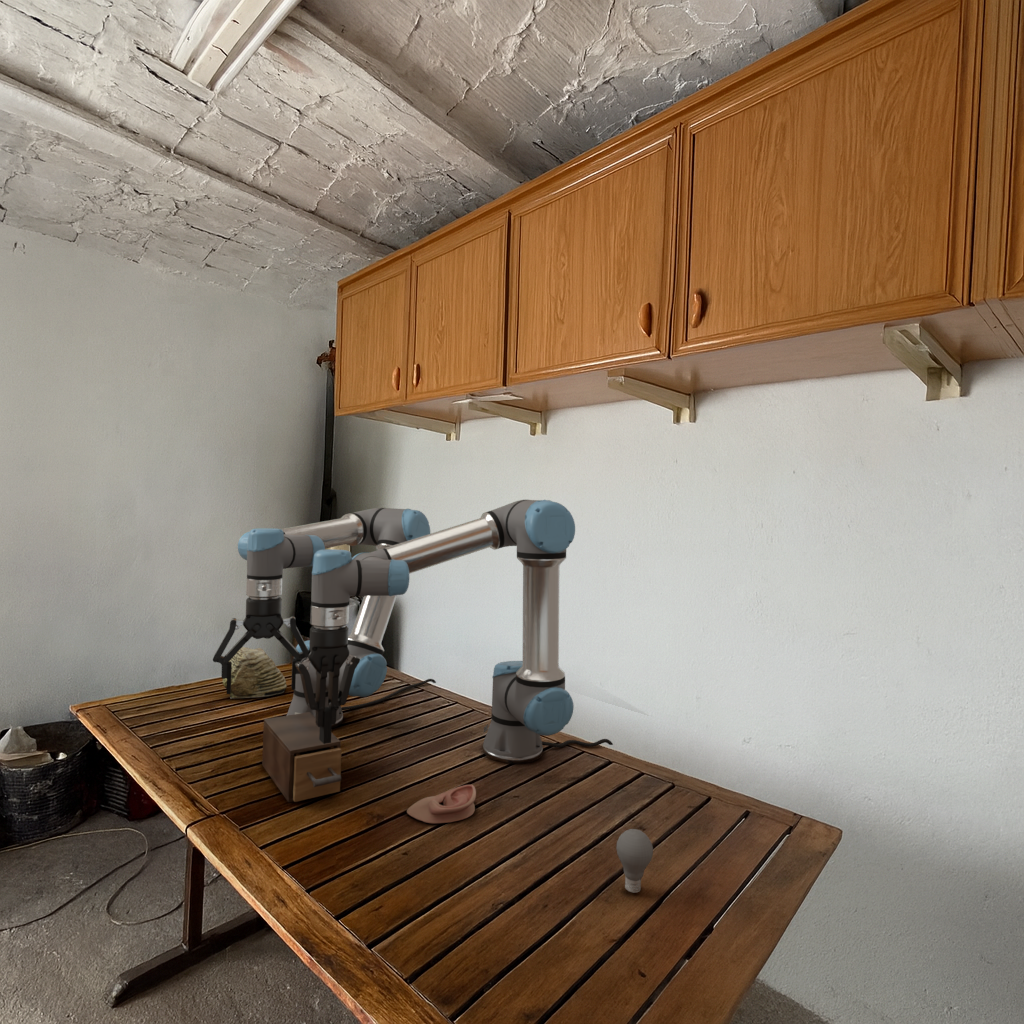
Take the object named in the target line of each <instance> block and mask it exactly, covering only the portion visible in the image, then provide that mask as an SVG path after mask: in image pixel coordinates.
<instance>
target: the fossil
mask: <svg viewBox="0 0 1024 1024" xmlns="http://www.w3.org/2000/svg"><path fill="white" fill-rule="evenodd" d="M229 662H232V671H231V693H230V694H229V698H230V699H250V698H264V697H271V696H275V695H281V694H284V693H285V691H286V689H287V687H288V686H287V680H286V678H285V676H284V674H283V673H282V672H281V669H279V668H278V667H277V665H276V663H275V662H274V660H273V659H272V658H271V657H270V656H269V655H268V654H267V653H266V652H265V650H264V649H263V648H260V647H258V648H251V647H247V646H246V647H245V646H243V647H242V648H241V649H240V650H239V651H238V652H237V653H236V654H235V655H234V656H233V658H232V659H231V660H230V661H229ZM222 685H223V687H224V688H225V690H227V678H225V679H222Z"/></svg>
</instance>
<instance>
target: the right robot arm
mask: <svg viewBox="0 0 1024 1024" xmlns="http://www.w3.org/2000/svg"><path fill="white" fill-rule="evenodd" d="M575 535H576V523H575V519H574V517H573V515H572V513H571V512H570V511H569V509H568V508H567V507H566V506H565V505H563V504H561V503H559V502H556V501H553V500H550V499H538V500H537V499H520V500H516V501H513V502H511V503H508V504H505V505H502V506H499V507H497V508H494V509H491V510H488V511H485V512H482V514H481V516H480V518H477V519H474V520H470V521H467V522H464V523H461V524H457V525H453V526H450V527H448V528H444V529H441V530H438V531H434V532H430V534H428V535H425V536H422V537H418V538H415V539H412V540H409V541H405V542H402V543H399V544H396V545H393V546H389V547H386V548H384V549H380V550H377V549H376V550H374V551H373V550H372V551H371V552H368V551H367V552H366V551H363V552H359V553H357V554H355V555H354V556H352V552H351V551H350V550H346V549H333V548H331V549H330V548H326V549H325V550H319V551H317V552H316V553H315V554H314V559H313V566H312V570H311V597H310V598H311V599H310V600H311V602H310V617H309V618H310V621H309V624H310V625H311V627H310V628H309V640H310V648H309V651H308V653H307V657H306V658H305V659H304V660H302V661H301V662H296V663H295V667H296V668H297V669H298V671H299V672H300V676H301V681H302V685H303V690H304V695H305V699H306V704H307V706H308V707H309V708H310V709H311V710H316V722H315V723H316V725H317V726H318V727H320V734H319V740H320V741H321V742H322V743H323V744H326V743H331V733H332V725H334V724H335V723H336V712H337V710H338V709H339V706H341V707H342V706H345V705H346V704H347V700H348V697H349V695H348V693H349V690H350V686H351V682H352V678H353V675H354V671H355V668H356V667H357V665H358V664H359V662H360V659H359V658H357V657H356V656H354V655H351V654H350V652H349V649H348V636H349V627H348V626H347V625H348V624H349V623H350V599H351V597H364V596H393V595H397V596H403V595H405V594H406V593H407V591H408V590H409V585H410V574H413V573H416V572H419V571H423V570H425V569H428V568H431V567H434V566H438V565H441V564H443V563H446V562H450V561H452V560H457V559H458V558H461V557H465V556H468V555H470V554H473V553H477V552H479V551H483V550H485V549H486V550H487V549H492V550H494V551H496V550H499V549H502V548H506V547H507V548H508V547H516V559H517V560H518V561H519V562H520V563H521V564H522V660H507V661H501V662H498V663H496V664H495V665H494V667H493V672H492V673H493V674H492V694H491V697H492V698H491V719H490V720H491V721H490V723H489V724H486V725H485V726H484V727H483V733H485V737H484V740H483V742H482V753H483V754H484V755H485V756H486V757H487V758H489V759H490V760H493V761H496V762H499V763H505V764H525V763H526V764H527V763H531V762H534V761H537V760H539V759H540V758H542V756H543V752H544V751H543V750H544V748H543V747H545V746H546V747H550V748H551V747H552V748H559V749H561V748H564V747H566V746H569V745H578V746H580V747H586V748H596V747H598V746H600V745H603V744H604V743H606V744H608V745H609V746H613V745H614V744H613V742H612V741H611V739H609V738H602V739H599V740H596V741H595V742H586V741H585V742H584V741H581V740H575V739H567V740H565V741H563V742H561V743H555V742H550V741H543V740H542V738H541V737H543V736H544V737H549V736H553V735H555V734H558V733H560V732H561V731H562V730H564V728H565V727H566V726H567V725H568V724H569V722H570V721H571V720H572V717H573V714H574V709H575V708H574V707H575V706H574V701H573V697H572V695H571V694H570V693H569V692H568V690H566V672H565V671H564V670H563V669H562V668H561V667H560V580H561V579H560V576H561V575H560V567H561V564H563V562H564V561H566V559H567V549H568V548H569V547H570V545H571V544H572V543H573V541H574V539H575ZM345 660H346V666H345V669H344V672H343V676H342V680H341V684H340V687H339V691H338V682H339V675H340V668H341V666H342V665H343V663H344V662H345ZM309 663H311V664H312V666H313V667H314V668H315V669H316V700H315V697H314V693H313V688H312V683H311V678H310V674H309V672H308V670H309V668H310V666H309ZM327 672H328V673H329V685H328V706H329V708H328V707H325V698H326V678H327Z"/></svg>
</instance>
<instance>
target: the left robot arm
mask: <svg viewBox="0 0 1024 1024" xmlns="http://www.w3.org/2000/svg"><path fill="white" fill-rule="evenodd" d="M428 534H431V525H430V522H429V519H428V517H427V516H426V514H425V513H423V511H421V510H418V509H412V508H394V507H393V508H391V507H373V508H368V509H363V510H358V511H354V512H349V513H345V514H344V515H342V516H341V517H340V518H334V519H330V520H324V521H319V522H318V521H317V522H313V523H307V524H302V525H295V526H291V527H285V528H274V527H273V528H269V527H259V528H257V527H256V528H251V529H250V530H249V531H247V532H245V533H243V534H242V535H241V536H240V538H239V539H238V542H237V551H238V554H239V556H240V558H242V559H243V560H245V561H246V588H245V589H246V591H245V592H246V593H245V596H247V598H246V600H245V617H244V619H237V618H235V617H232V618H231V619H230V622H229V628H228V630H227V632H226V633H225V635H224V637H223V639H222V641H221V642H220V644H219V646H218V648H217V650H216V652H215V653H214V655H213V657H212V661H213V663H219V664H220V665H221V679H222V680H223V679H225V678H227V689H226V695H230V693H231V671H232V662H229V661H230V660H231V659H232V658H233V656H234V655H235V654H236V653H237V652H238V651H239V650H240V649H241V648H242V647H245V645H246V643H248V642H249V641H250V640H251V639H252V638H253V639H255V640H260V639H271V638H273V637H274V638H275V639H276V640H277V641H279V643H280V644H281V645H282V646H283V647H284V648H285V649H286V650H287V651H288V652H289V653H290V655H291V656H292V658H291V690H292V691H293V695H292V696H293V697H292V699H291V702H290V704H289V708H288V711H287V713H286V715H285V716H288V715H295V714H301V713H307V712H310V713H311V714H312V715H313V716H314V717H315V718H316V710H311V709H310V708H309V707H308V706H307V704H306V699H305V695H304V690H303V685H302V681H301V676H300V672H299V671H298V669H297V668H296V667H295V663H296V662H301V661H302V660H304V659H305V658H306V657H307V653H308V651H309V648H310V639H308V640H304V639H303V636H302V634H301V632H300V631H299V628H298V627H297V622H296V621H297V620H296V617H295V616H294V615H291V616H290V617H285V618H284V617H283V616H282V605H283V604H282V603H283V598H281V597H280V596H281V595H283V575H284V573H283V572H284V570H285V569H293V568H304V567H306V568H309V567H313V559H314V554H315V553H316V552H317V551H319V550H326V549H330V548H331V549H332V548H335V547H339V546H343V545H347V546H350V547H356V546H360V545H361V546H362V545H363V546H374V547H375V549H376V551H377V550H380V549H384V548H386V547H389V546H393V545H396V544H399V543H402V542H405V541H409V540H412V539H415V538H418V537H422V536H425V535H428ZM397 597H398V595H393V596H363V598H362V601H361V604H360V606H359V608H358V609H359V610H358V612H357V615H356V618H355V621H354V624H353V626H352V628H351V632H350V634H348V649H349V652H350V654H351V655H354V656H356V657H357V658H359V659H360V662H359V664H358V665H357V667H356V668H355V671H354V675H353V678H352V682H351V686H350V690H349V693H348V696H350V697H358V698H367V697H370V696H372V695H373V694H374V693H376V692H377V691H378V690H380V688H381V687H382V685H383V683H384V681H385V679H386V676H387V674H388V673H387V672H388V667H387V665H388V663H387V660H386V658H385V657H384V654H385V649H384V647H383V645H382V641H383V639H384V635H385V633H386V630H387V628H388V627H387V626H388V624H389V621H390V618H391V615H392V612H393V608H394V605H395V602H396V599H397ZM283 625H285V626H286V627H287V628H290V630H291V633H292V634H293V636H294V639H295V641H296V642H297V645H296V647H295V646H294V645H293V643H291V642H290V641H289V639H288V638H287V637H286V636H285V635H284V634H283V633H282V631H281V630H280V629H281V628H282V626H283ZM241 626H243V627H244V629H245V630H246V632H245V633H244V634H243V635H242V636H241V637H240V638H239V640H238V641H237V642H236V643H235V644H234V645H233V646H232V648H231V649H230V650H229V651H228V652H227V653H226V654H225V655H224V656H223V653H224V652H225V650H226V648H227V647H228V645H229V643H230V641H231V639H232V637H233V636H234V634H235V632H236V630H239V629H240V627H241ZM309 666H310V668H309V670H308V672H309V674H310V678H311V683H312V688H313V693H314V697H315V700H316V669H315V668H314V667H313V666H312V664H311V663H309ZM345 666H346V660H345V662H344V663H343V665H342V666H341V668H340V675H339V682H338V691H339V687H340V684H341V680H342V676H343V672H344V669H345ZM430 682H432V683H433V684H437V681H436V680H435V679H433V678H428V679H425V680H423V681H420V682H416V683H414V684H410V685H407V686H405V687H402V688H400V689H398V690H396V691H394V692H392V693H390V694H387V695H385V696H383V697H381V698H378V699H375V700H372V701H368V702H365V703H359V704H355V705H348V706H342V705H341V706H339V709H338V710H337V712H336V723H335V724H334V725H332V729H335V728H337V727H339V726H340V725H342V723H343V722H344V714H343V711H348V710H350V711H351V710H355V709H360V708H364V707H368V706H372V705H375V704H378V703H381V702H384V701H386V700H388V699H390V698H392V697H395V696H396V695H398V694H400V693H403V692H405V691H408V690H409V689H413V688H416V687H420V686H423V685H425V684H427V683H430ZM328 685H329V673H328V672H327V678H326V698H325V707H328V708H329V706H328ZM332 729H331V730H332Z"/></svg>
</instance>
